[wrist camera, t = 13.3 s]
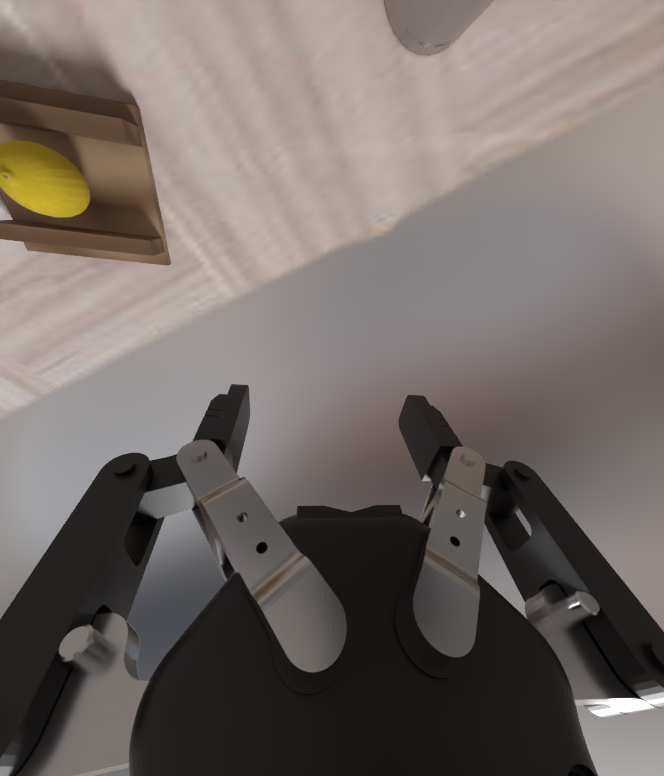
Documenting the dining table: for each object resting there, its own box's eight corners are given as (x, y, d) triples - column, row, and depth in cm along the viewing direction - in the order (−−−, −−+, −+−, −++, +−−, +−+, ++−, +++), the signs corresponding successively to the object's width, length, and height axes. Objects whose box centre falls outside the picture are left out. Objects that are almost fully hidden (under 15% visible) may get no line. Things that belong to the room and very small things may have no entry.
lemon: (111, 175, 27) (50, 163, 21) (103, 227, 30) (46, 232, 23) (45, 135, 26) (-45, 109, 19) (42, 195, 28) (-39, 190, 21)
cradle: (-46, 74, 23) (-101, 53, 20) (139, 108, 26) (115, 94, 22) (34, 249, 31) (3, 254, 28) (170, 263, 34) (156, 270, 30)
